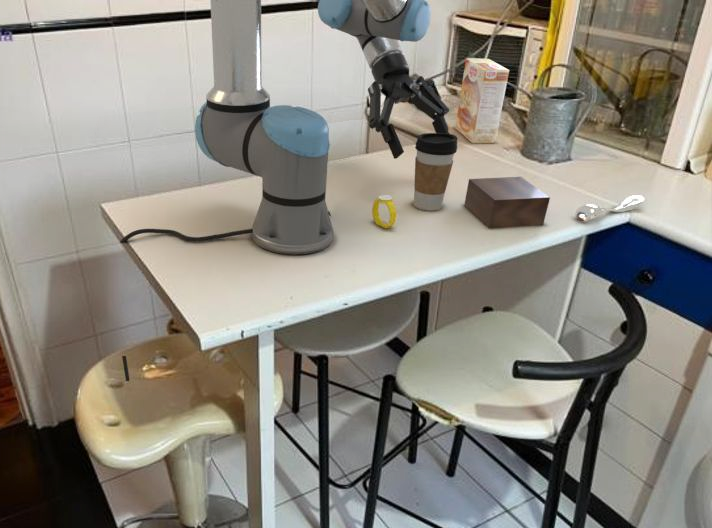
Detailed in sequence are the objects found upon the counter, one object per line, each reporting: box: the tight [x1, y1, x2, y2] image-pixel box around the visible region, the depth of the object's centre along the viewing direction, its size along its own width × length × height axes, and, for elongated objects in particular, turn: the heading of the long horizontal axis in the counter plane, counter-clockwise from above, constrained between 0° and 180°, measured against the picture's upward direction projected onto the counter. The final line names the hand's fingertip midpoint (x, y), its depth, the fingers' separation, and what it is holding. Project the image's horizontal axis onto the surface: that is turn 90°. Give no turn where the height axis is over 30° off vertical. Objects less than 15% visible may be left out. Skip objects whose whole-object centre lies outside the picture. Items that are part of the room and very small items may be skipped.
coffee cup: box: [413, 132, 459, 212], centre depth 137 cm, size 8×8×15 cm
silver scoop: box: [574, 195, 645, 223], centre depth 139 cm, size 20×4×5 cm
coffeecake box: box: [454, 57, 510, 144], centre depth 181 cm, size 15×7×20 cm, turn 6°
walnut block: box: [463, 176, 551, 229], centre depth 136 cm, size 12×12×6 cm
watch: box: [371, 194, 397, 229], centre depth 129 cm, size 6×3×6 cm, turn 31°
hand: (424, 150), depth 137 cm, fingers open, 13 cm apart
